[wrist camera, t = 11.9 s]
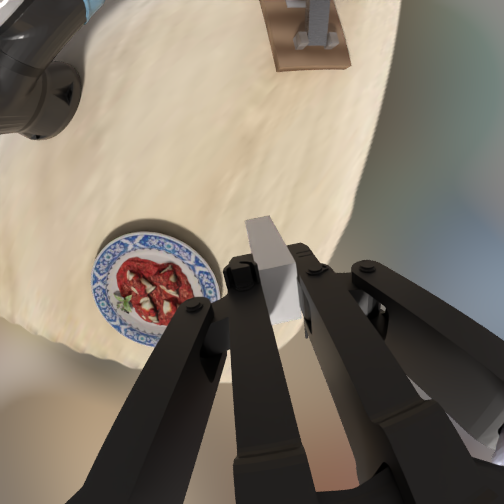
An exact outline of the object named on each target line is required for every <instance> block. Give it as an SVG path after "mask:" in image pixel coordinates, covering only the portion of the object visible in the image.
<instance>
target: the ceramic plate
mask: <svg viewBox="0 0 504 504" xmlns="http://www.w3.org/2000/svg"><path fill="white" fill-rule="evenodd" d="M91 289H92V294H93V297H94V300H95V303H96V305H97V307H98V309H99V311H100V313H101V314H102V315H103V317H104V318H105V319H106V321H107V322H108V323H109V324H110V325H111V326H112V327H113V328H114V329H115V330H117V331H118V332H119V333H120V334H122V335H123V336H125V337H127V338H129V339H130V340H132V341H135V342H137V343H139V344H142V345H146V346H150V347H155V346H156V345H157V343H158V341H159V339H160V338H161V336H162V334H163V332H164V331H165V329H166V327H167V325H168V324H169V322H170V320H171V319H172V317H173V315H174V313H175V312H176V310H177V308H178V307H179V306H180V305H181V303H183V302H184V301H186V300H187V299H190V298H193V297H206V298H208V299H209V300H210V302H211V303H212V302H215V301H217V300H220V291H219V286H218V283H217V280H216V277H215V275H214V273H213V272H212V270H211V268H210V266H209V265H208V264H207V262H206V261H205V260H204V259H203V258H202V257H201V255H199V254H198V253H197V252H196V251H195V250H194V249H193V248H191V247H190V246H188V245H187V244H185V243H184V242H182V241H180V240H178V239H176V238H174V237H171V236H168V235H165V234H161V233H156V232H133V233H129V234H125V235H122V236H120V237H118V238H116V239H114V240H113V241H111V242H110V243H109V244H107V245H106V246H105V247H104V248H103V249H102V250H101V252H100V253H99V254H98V256H97V258H96V260H95V262H94V265H93V268H92V273H91Z"/></svg>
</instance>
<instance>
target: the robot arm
mask: <svg viewBox="0 0 504 504" xmlns="http://www.w3.org/2000/svg"><path fill="white" fill-rule="evenodd" d="M104 2H105V0H0V135H1V134H8V133H19V134H21V135H23V136H25V137H27V138H29V139H32V140H45V139H50V138H52V137H54V136H56V135H58V134H59V133H60V132H61V131H62V130H63V129H64V128H65V127H66V126H67V125H68V124H69V122H70V121H71V119H72V118H73V116H74V114H75V112H76V109H77V107H78V104H79V100H80V95H81V81H80V77H79V74H78V72H77V71H76V69H75V68H74V67H73V66H71V65H69V64H67V63H64V62H60V61H52V60H53V59H54V58H55V57H56V55H57V54H58V53H59V52H60V50H61V49H62V48H63V47H64V46H65V44H66V43H67V42H68V41H69V40H70V39H71V38H72V36H73V35H74V34H75V33H76V32H77V31H78V30H79V29H80V28H81V27H82V26H83V25H85V24H86V23H87V22H88V21H89V19H90V18H91V16H92V15H93V14H94V13H95V12H96V11H97V10H98V9H99V8H100V7H101V6H102V5H103V4H104ZM245 224H246V229H247V234H248V239H249V244H250V249H251V254H246V255H242V256H237V257H233V258H232V259H231V260H230V262H229V264H228V265H227V266H226V267H225V268H224V270H223V274H224V278H225V282H226V286H227V289H228V294H227V295H226V296H225V297H223V298H222V299H220V300H217V301H215V302H212V303H211V302H210V300H209V299H208V298H206V297H193V298H190V299H187V300H186V301H184V302H183V303H181V305H180V306H179V307H178V308H177V310H176V312H175V313H174V315H173V317H172V319H171V320H170V322H169V324H168V325H167V327H166V329H165V331H164V332H163V334H162V336H161V338H160V339H159V341H158V343H157V345H156V346H155V348H154V350H153V352H152V353H151V355H150V357H149V359H148V361H147V362H146V364H145V366H144V368H143V370H142V372H141V373H140V375H139V377H138V379H137V381H136V382H135V384H134V386H133V388H132V390H131V392H130V393H129V395H128V397H127V399H126V401H125V403H124V405H123V407H122V409H121V411H120V412H119V414H118V416H117V418H116V420H115V422H114V424H113V426H112V428H111V430H110V432H109V434H108V435H107V438H106V439H105V442H104V444H103V445H102V447H101V450H100V451H99V453H98V456H97V458H96V460H95V462H94V464H93V466H92V468H91V470H90V472H89V474H88V476H87V479H86V481H85V483H84V485H83V487H82V488H81V489H80V490H79V491H78V492H77V493H76V494H75V495H74V496H72V497H71V498H70V499H69V500H68V501H67V502H66V503H65V504H183V502H184V499H185V495H186V492H187V489H188V485H189V482H190V479H191V475H192V472H193V469H194V465H195V462H196V459H197V455H198V452H199V449H200V445H201V442H202V439H203V435H204V432H205V428H206V425H207V422H208V418H209V415H210V411H211V408H212V405H213V401H214V398H215V395H216V391H217V388H218V384H219V381H220V378H221V374H222V371H223V367H224V364H225V360H226V357H227V350H229V349H230V353H231V370H232V386H233V401H234V415H235V428H236V442H237V457H236V458H235V459H234V464H233V475H234V487H235V499H236V504H504V466H501V465H504V341H503V340H502V339H500V338H499V337H498V336H496V335H495V334H493V333H492V332H490V331H489V330H488V329H486V328H485V327H483V326H482V325H480V324H478V323H477V322H475V321H474V320H473V319H471V318H469V317H468V316H466V315H465V314H463V313H462V312H460V311H459V310H457V309H456V308H454V307H452V306H451V305H449V304H448V303H446V302H444V301H443V300H441V299H440V298H438V297H436V296H435V295H433V294H431V293H430V292H428V291H427V290H425V289H423V288H422V287H420V286H418V285H417V284H415V283H413V282H412V281H410V280H408V279H407V278H405V277H403V276H401V275H400V274H398V273H396V272H395V271H393V270H391V269H389V268H388V267H386V266H384V265H382V264H380V263H378V262H376V261H371V260H362V261H359V262H356V263H355V264H353V265H352V267H351V273H335V272H334V271H333V270H332V268H331V267H329V266H328V265H326V264H323V263H320V262H319V261H318V259H317V258H316V257H315V255H314V254H313V253H312V251H311V250H310V248H309V247H308V246H307V245H305V244H303V243H297V244H292V245H287V246H286V244H285V242H284V241H283V239H282V237H281V235H280V233H279V232H278V230H277V228H276V226H275V225H274V223H273V221H272V219H271V218H270V216H264V217H259V218H254V219H249V220H245ZM381 304H382V305H384V306H385V307H386V310H385V311H383V310H382V309H380V307H381ZM301 311H302V313H303V316H304V326H305V337H306V338H308V336H309V338H310V341H311V343H312V346H313V348H314V351H315V353H316V356H317V359H318V361H319V364H320V366H321V369H322V371H323V374H324V377H325V379H326V382H327V384H328V387H329V390H330V392H331V395H332V397H333V400H334V403H335V406H336V408H337V411H338V413H339V416H340V419H341V422H342V424H343V427H344V430H345V432H346V435H347V438H348V441H349V443H350V446H351V449H352V451H353V455H354V457H355V461H356V469H357V476H358V480H359V484H360V486H358V487H356V488H354V489H349V490H339V491H325V492H316V491H315V487H314V483H313V479H312V475H311V471H310V467H309V463H308V460H307V456H306V452H305V449H304V447H303V445H302V442H301V438H300V435H299V431H298V427H297V423H296V419H295V415H294V411H293V407H292V403H291V399H290V395H289V391H288V387H287V383H286V379H285V375H284V371H283V367H282V363H281V360H280V356H279V352H278V348H277V344H276V340H275V336H274V332H273V328H272V325H275V324H279V323H284V322H288V321H293V320H297V319H301V318H302V316H301ZM407 376H408V377H409V378H410V379H411V380H412V381H413V382H415V383H416V384H417V385H418V386H419V387H420V388H421V389H422V390H423V391H424V392H425V393H426V394H427V395H428V396H429V397H431V398H432V399H431V400H423V399H422V398H421V397H420V396H419V395H418V393H417V391H416V390H415V388H414V387H413V385H412V383H411V382H410V380H409V379H408V377H407ZM446 413H447V414H449V415H450V416H451V417H452V418H453V419H454V420H455V421H456V422H457V423H458V424H459V425H460V426H461V427H462V428H463V429H464V430H465V431H466V432H467V433H468V434H470V435H471V436H472V437H473V438H474V439H476V440H477V441H479V442H480V443H482V444H483V445H485V446H486V447H488V448H491V449H493V450H495V452H494V454H493V456H492V463H490V462H487V461H484V460H480V459H477V458H473V457H471V455H470V453H469V451H468V450H467V448H466V446H465V445H464V443H463V441H462V439H461V437H460V436H459V434H458V432H457V431H456V429H455V427H454V426H453V424H452V422H451V421H450V419H449V417H448V416H447V414H446Z"/></svg>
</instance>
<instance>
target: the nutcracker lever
mask: <svg viewBox="0 0 504 504" xmlns="http://www.w3.org/2000/svg"><path fill="white" fill-rule="evenodd" d="M329 11H330V0H306V9H305V32H307V35H308V39H309V44H308V46H326V42H327V32H328V22H329Z"/></svg>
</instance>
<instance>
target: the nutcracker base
mask: <svg viewBox="0 0 504 504" xmlns="http://www.w3.org/2000/svg"><path fill="white" fill-rule="evenodd" d="M259 1H260V5H261V8H262V12H263V16H264V20H265V24H266V28H267V32H268V36H269V40H270V45H271V49H272V53H273V58H274V62H275V67H276V72H283V71H297V70H323V69H343V70H344V69H346V68H348V67H350V66H351V61H350V57H349V53H348V49H347V45H346V41H345V38H344V34H343V31H342V27H341V24H340V20H339V17H338V14H337V11H336V8H335V5H334V2H333V0H330V11H329V22H328V32H327V42H326V46H308V44H309V39H308V35H307V32H305V9H306V0H259Z"/></svg>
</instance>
